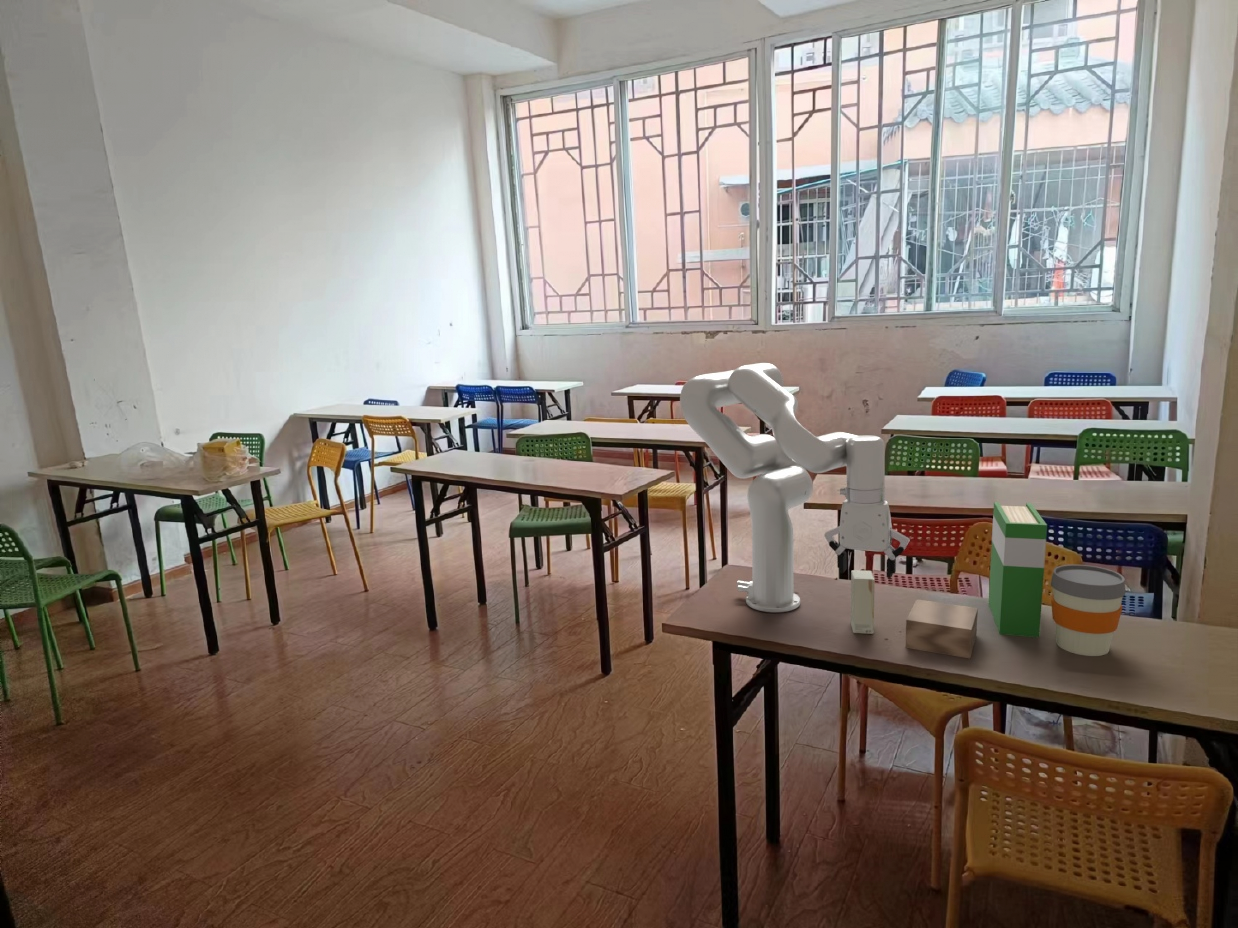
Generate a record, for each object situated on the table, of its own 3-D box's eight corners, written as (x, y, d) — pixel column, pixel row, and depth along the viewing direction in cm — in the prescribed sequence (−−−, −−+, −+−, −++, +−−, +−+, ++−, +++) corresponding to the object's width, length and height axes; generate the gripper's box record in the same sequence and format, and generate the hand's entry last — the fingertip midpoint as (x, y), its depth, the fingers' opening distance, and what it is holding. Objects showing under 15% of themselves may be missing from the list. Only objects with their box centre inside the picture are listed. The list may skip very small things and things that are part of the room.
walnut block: (905, 647, 156) (906, 619, 154) (915, 625, 166) (916, 599, 165) (969, 658, 150) (971, 629, 148) (976, 635, 160) (977, 608, 159)
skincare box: (874, 634, 162) (875, 579, 160) (852, 633, 163) (853, 579, 161) (870, 622, 168) (871, 569, 166) (850, 621, 169) (851, 569, 167)
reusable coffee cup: (1035, 646, 154) (1040, 575, 151) (1061, 627, 161) (1066, 559, 159) (1106, 666, 144) (1112, 591, 141) (1129, 645, 152) (1136, 574, 149)
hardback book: (988, 602, 176) (993, 501, 172) (1024, 605, 174) (1030, 503, 169) (999, 633, 160) (1005, 523, 155) (1039, 637, 158) (1047, 525, 153)
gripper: (819, 496, 161) (820, 574, 164) (906, 501, 152) (905, 583, 155) (828, 489, 167) (830, 564, 170) (912, 493, 158) (912, 572, 161)
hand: (866, 573), depth 163 cm, fingers open, 9 cm apart
